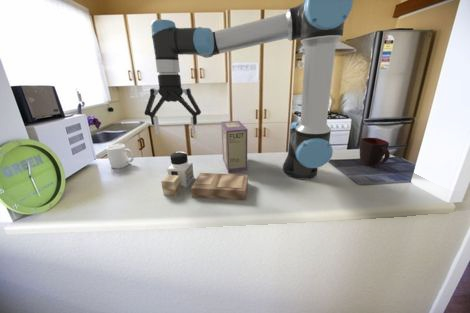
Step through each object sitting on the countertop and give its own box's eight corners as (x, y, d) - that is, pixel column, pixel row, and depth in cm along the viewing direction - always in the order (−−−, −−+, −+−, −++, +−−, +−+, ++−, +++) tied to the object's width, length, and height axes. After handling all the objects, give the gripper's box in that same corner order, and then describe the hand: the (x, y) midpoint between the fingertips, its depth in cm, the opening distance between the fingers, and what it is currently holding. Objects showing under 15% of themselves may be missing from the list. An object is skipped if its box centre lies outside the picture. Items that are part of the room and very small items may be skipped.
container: (187, 186, 82) (183, 157, 77) (169, 185, 83) (164, 156, 78) (194, 177, 89) (191, 150, 84) (178, 176, 90) (174, 149, 85)
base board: (247, 183, 84) (247, 174, 82) (245, 200, 73) (245, 190, 71) (201, 181, 86) (200, 172, 84) (192, 197, 75) (190, 187, 73)
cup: (117, 161, 106) (112, 143, 102) (139, 161, 106) (135, 143, 102) (107, 168, 99) (101, 149, 95) (131, 168, 98) (126, 149, 94)
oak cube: (180, 188, 81) (179, 175, 79) (176, 195, 76) (173, 181, 74) (169, 187, 82) (166, 174, 79) (163, 194, 77) (161, 181, 75)
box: (247, 170, 94) (247, 129, 86) (228, 172, 93) (226, 130, 85) (239, 157, 109) (239, 120, 101) (223, 158, 108) (221, 121, 100)
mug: (370, 159, 103) (376, 137, 99) (392, 171, 91) (401, 146, 86) (352, 160, 102) (357, 138, 98) (372, 173, 90) (379, 148, 85)
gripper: (205, 73, 74) (208, 129, 82) (136, 73, 72) (146, 130, 81) (204, 74, 67) (207, 135, 75) (127, 73, 65) (139, 136, 74)
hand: (175, 133), depth 78 cm, fingers open, 13 cm apart
